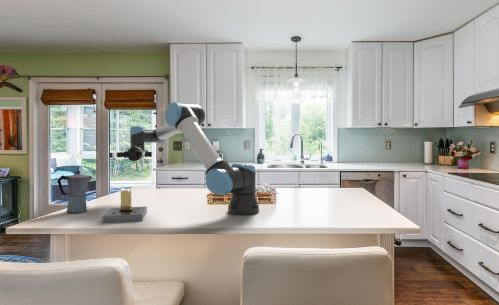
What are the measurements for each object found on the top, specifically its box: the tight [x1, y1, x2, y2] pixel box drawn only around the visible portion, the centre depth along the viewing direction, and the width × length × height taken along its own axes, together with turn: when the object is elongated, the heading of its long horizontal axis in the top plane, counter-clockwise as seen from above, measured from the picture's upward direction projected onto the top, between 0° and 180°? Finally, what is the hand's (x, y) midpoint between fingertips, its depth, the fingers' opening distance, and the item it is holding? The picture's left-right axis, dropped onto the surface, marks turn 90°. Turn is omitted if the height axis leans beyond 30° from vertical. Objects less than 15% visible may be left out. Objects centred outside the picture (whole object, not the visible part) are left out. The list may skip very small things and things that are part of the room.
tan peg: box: [120, 189, 132, 212], centre depth 144 cm, size 4×4×12 cm
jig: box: [102, 206, 148, 224], centre depth 144 cm, size 16×16×3 cm
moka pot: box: [57, 170, 93, 214], centre depth 155 cm, size 10×15×20 cm, turn 137°
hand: (128, 155), depth 152 cm, fingers open, 13 cm apart
